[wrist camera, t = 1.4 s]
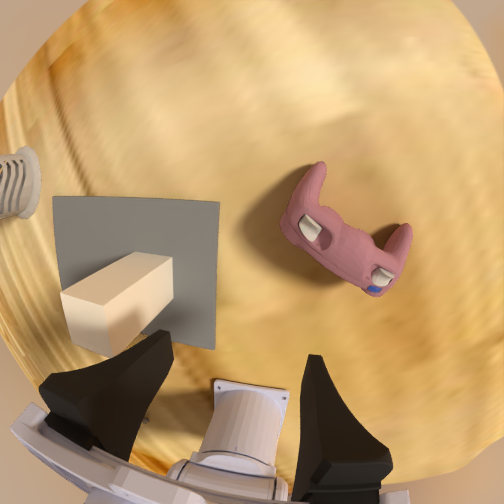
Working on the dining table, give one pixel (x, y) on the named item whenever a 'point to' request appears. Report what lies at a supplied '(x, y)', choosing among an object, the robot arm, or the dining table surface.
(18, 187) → the french press
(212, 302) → the slate mat
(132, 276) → the cream block
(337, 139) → the dining table surface
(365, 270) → the video game controller
